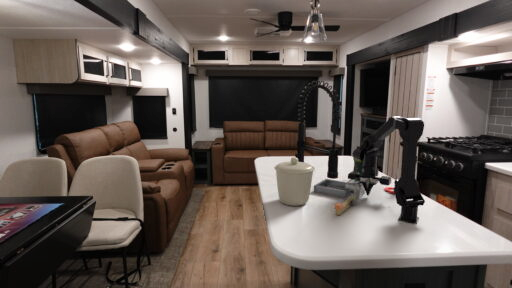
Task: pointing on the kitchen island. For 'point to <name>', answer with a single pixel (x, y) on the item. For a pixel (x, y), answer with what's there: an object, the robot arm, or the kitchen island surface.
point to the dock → (325, 190)
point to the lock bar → (343, 205)
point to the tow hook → (392, 187)
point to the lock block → (354, 189)
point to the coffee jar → (358, 168)
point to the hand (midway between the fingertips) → (367, 195)
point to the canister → (294, 181)
